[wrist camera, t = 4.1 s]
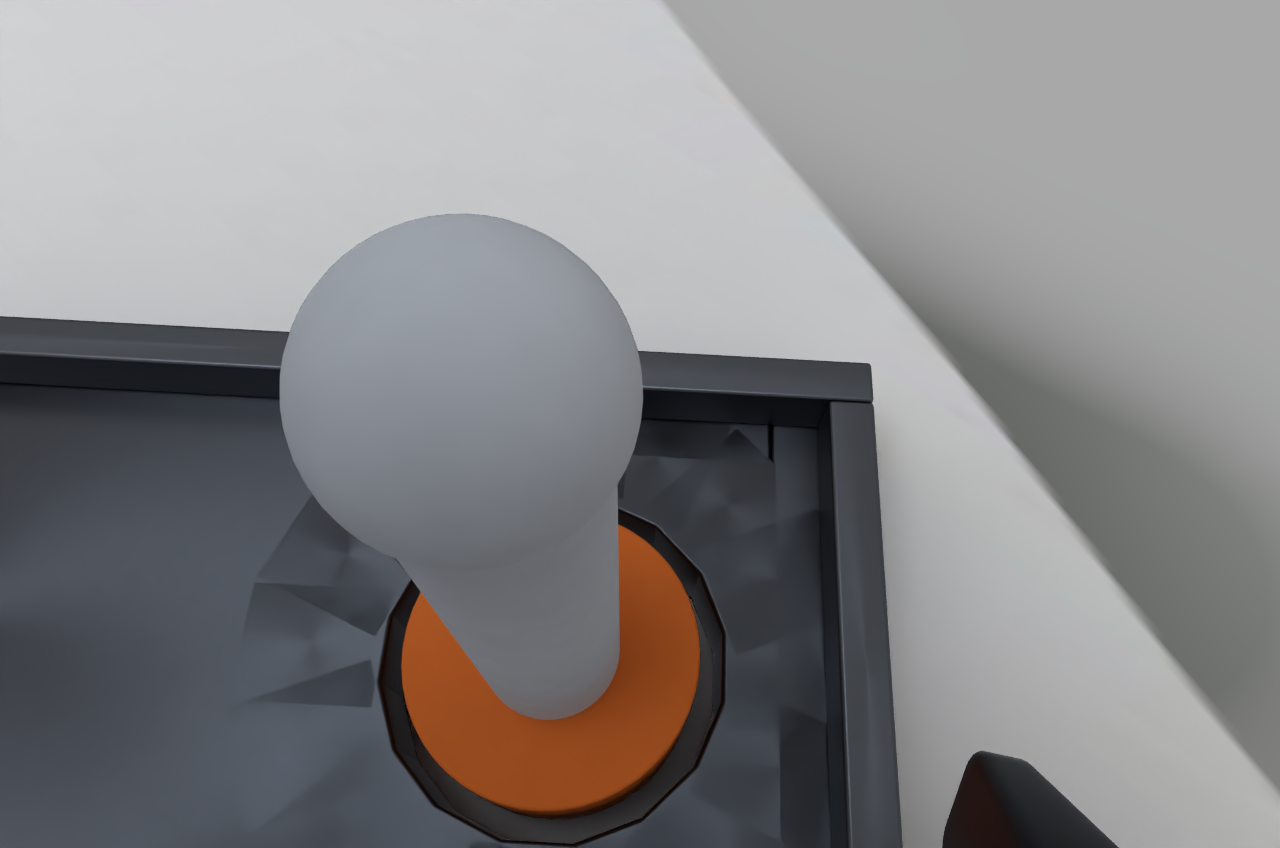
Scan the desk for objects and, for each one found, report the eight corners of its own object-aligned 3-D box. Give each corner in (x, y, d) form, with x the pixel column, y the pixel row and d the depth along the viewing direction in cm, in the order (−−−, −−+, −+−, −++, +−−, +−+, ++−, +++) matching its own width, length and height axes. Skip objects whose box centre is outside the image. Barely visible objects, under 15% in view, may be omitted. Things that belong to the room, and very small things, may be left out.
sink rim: (-623, 967, 13) (-735, 976, 12) (-262, 332, 18) (-320, 297, 17) (894, 1058, 13) (919, 1076, 12) (856, 393, 18) (872, 362, 16)
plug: (429, 833, 16) (-61, 748, 4) (428, 564, 18) (92, 39, 6) (707, 802, 16) (908, 647, 5) (674, 541, 18) (758, -1, 7)
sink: (-486, 958, 15) (-623, 968, 13) (-187, 376, 19) (-262, 331, 18) (865, 1039, 14) (896, 1060, 13) (837, 432, 19) (857, 392, 18)
